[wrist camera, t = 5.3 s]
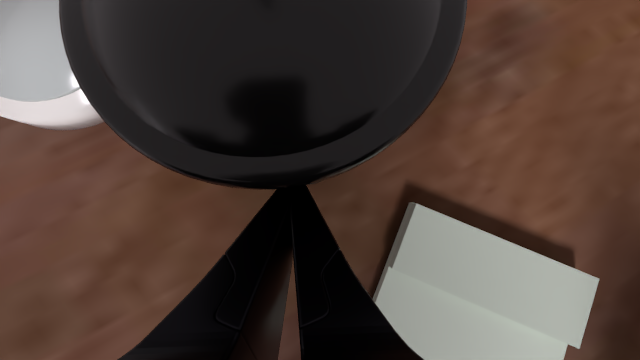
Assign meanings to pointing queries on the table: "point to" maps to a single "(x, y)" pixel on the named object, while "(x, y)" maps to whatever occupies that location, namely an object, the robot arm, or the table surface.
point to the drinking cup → (261, 80)
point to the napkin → (479, 294)
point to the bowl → (39, 69)
